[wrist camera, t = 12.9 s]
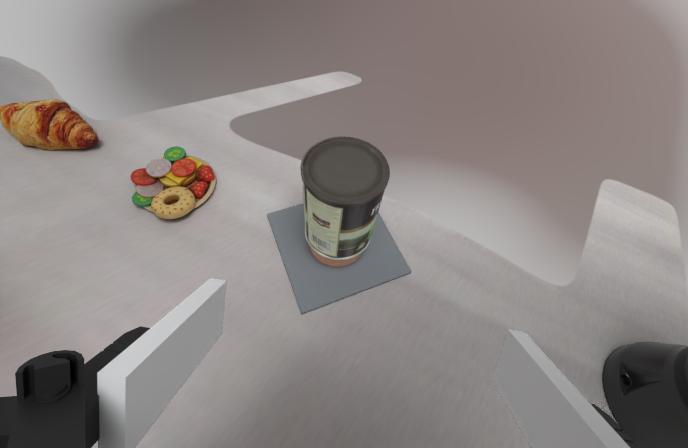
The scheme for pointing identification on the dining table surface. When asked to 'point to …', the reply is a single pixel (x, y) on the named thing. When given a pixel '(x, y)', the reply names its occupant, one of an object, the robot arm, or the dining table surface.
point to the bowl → (334, 262)
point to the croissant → (47, 125)
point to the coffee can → (342, 195)
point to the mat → (333, 282)
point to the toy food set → (173, 184)
